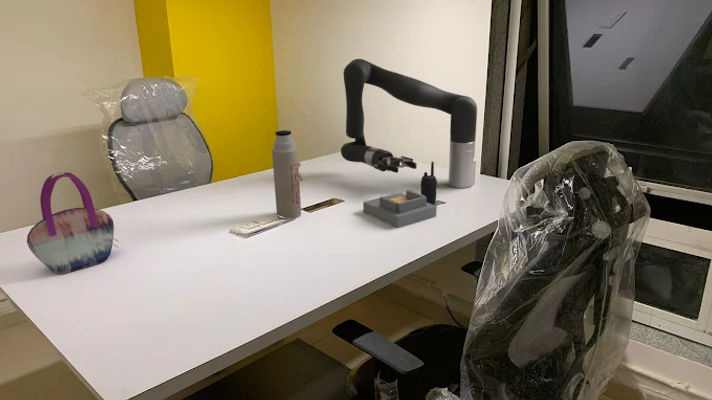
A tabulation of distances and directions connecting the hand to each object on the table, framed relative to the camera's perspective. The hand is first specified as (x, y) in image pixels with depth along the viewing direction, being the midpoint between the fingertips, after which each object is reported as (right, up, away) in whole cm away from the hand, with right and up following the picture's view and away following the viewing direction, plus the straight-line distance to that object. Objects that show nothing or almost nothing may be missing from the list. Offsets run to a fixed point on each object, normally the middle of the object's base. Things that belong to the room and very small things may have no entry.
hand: (406, 167), depth 182 cm
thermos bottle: (-40, -16, -12) cm, 45 cm away
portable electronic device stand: (-44, -4, +26) cm, 51 cm away
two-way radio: (+7, -13, -5) cm, 16 cm away
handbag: (-92, -28, -44) cm, 106 cm away
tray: (-4, -16, -14) cm, 21 cm away
